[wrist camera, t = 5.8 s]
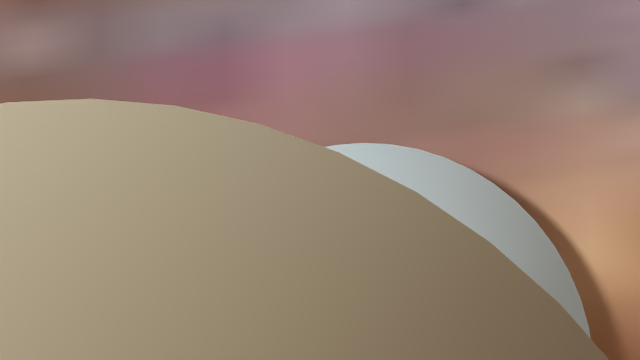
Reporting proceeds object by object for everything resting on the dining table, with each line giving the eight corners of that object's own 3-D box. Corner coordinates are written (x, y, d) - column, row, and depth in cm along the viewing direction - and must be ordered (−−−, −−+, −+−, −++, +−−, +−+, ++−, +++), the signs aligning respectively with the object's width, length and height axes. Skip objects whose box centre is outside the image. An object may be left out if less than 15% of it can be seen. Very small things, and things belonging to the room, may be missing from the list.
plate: (659, 311, 20) (680, 314, 19) (418, 687, 19) (423, 714, 18) (321, 73, 22) (320, 62, 21) (70, 402, 20) (54, 410, 19)
